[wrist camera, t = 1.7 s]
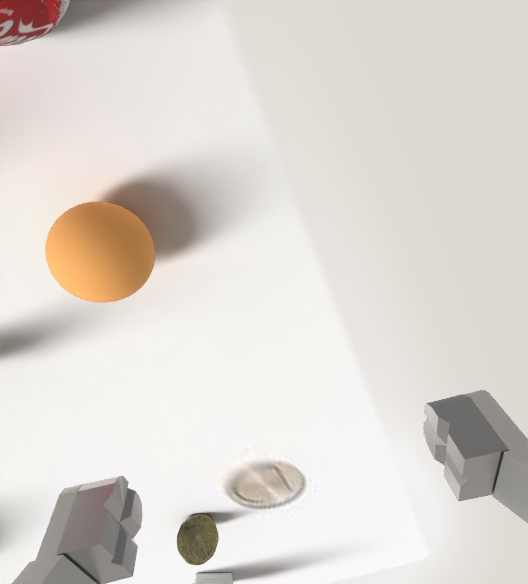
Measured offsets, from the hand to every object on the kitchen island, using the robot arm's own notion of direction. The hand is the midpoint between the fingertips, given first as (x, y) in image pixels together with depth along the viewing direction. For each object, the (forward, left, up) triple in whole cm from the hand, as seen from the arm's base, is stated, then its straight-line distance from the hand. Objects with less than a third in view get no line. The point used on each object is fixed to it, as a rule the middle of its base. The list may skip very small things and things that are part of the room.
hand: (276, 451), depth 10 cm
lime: (+40, -15, -18) cm, 46 cm away
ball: (0, -8, -15) cm, 17 cm away
